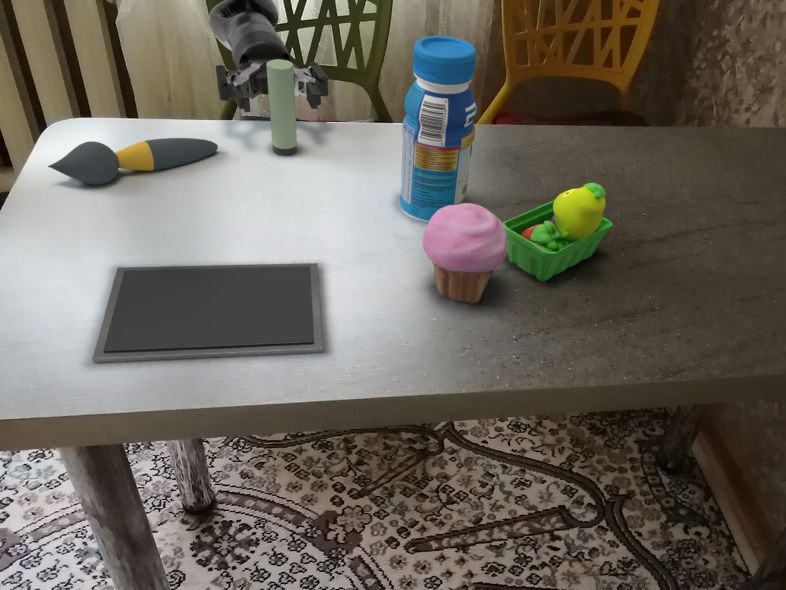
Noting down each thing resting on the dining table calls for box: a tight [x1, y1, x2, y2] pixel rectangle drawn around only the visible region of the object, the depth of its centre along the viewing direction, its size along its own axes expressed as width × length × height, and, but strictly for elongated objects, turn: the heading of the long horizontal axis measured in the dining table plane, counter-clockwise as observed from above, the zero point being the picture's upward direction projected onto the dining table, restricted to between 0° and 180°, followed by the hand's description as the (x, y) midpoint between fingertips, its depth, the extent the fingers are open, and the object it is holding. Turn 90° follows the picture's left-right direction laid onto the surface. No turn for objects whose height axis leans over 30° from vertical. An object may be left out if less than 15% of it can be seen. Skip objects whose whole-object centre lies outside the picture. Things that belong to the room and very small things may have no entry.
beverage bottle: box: [399, 35, 478, 223], centre depth 86 cm, size 8×8×20 cm
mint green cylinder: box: [266, 59, 298, 157], centre depth 96 cm, size 3×3×12 cm
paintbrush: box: [47, 137, 219, 186], centre depth 91 cm, size 20×5×5 cm, turn 134°
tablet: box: [91, 262, 324, 364], centre depth 73 cm, size 20×14×1 cm
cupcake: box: [422, 202, 508, 305], centre depth 77 cm, size 9×9×10 cm
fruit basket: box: [502, 182, 613, 282], centre depth 83 cm, size 11×9×11 cm
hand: (281, 103), depth 95 cm, fingers open, 8 cm apart
